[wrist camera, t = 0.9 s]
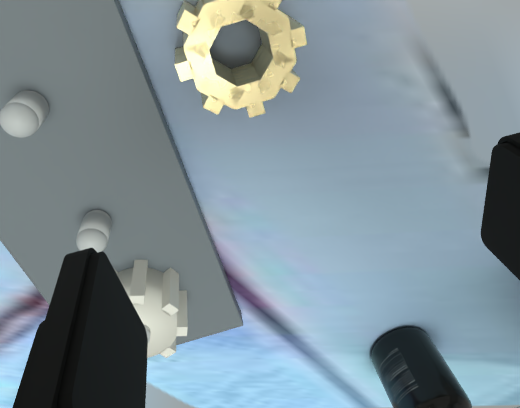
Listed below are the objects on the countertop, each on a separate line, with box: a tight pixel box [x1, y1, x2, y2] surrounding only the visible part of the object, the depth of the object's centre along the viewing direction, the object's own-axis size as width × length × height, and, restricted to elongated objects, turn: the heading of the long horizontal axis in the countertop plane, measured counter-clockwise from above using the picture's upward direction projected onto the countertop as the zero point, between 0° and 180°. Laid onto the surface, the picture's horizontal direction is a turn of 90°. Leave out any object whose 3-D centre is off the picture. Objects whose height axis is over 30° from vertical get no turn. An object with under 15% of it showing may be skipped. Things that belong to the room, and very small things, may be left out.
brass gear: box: [175, 0, 307, 118], centre depth 26 cm, size 8×8×4 cm
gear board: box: [0, 0, 243, 358], centre depth 30 cm, size 14×30×6 cm, turn 14°
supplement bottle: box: [371, 327, 472, 408], centre depth 42 cm, size 7×7×12 cm
